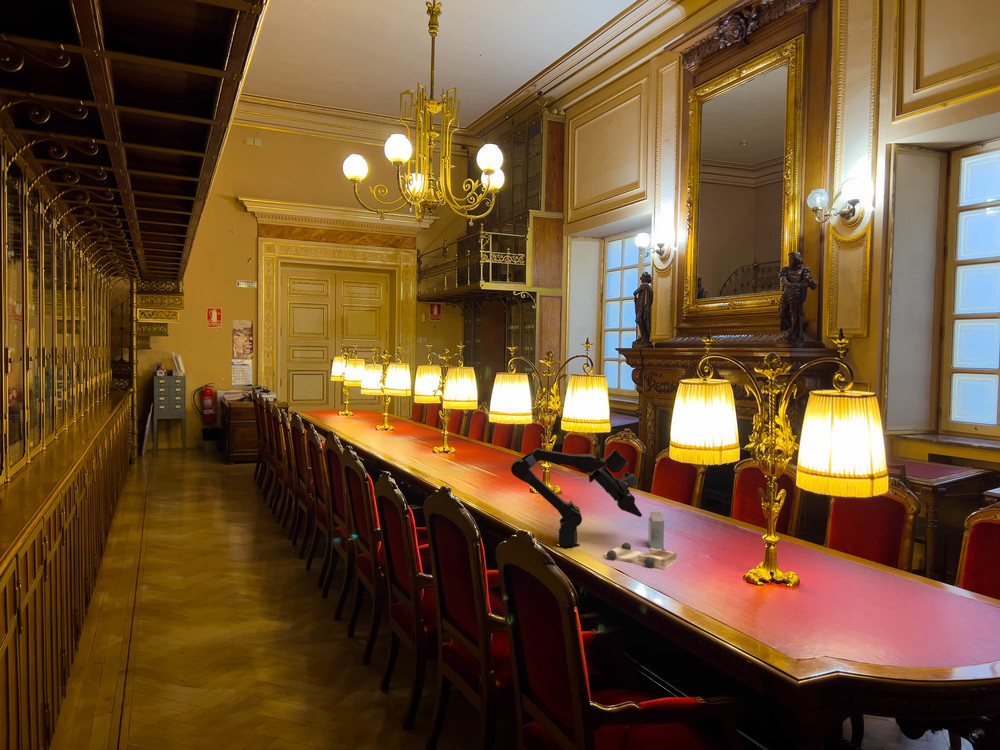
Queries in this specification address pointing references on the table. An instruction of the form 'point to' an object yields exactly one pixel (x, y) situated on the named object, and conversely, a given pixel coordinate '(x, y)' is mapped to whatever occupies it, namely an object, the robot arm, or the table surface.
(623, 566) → the table surface
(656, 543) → the grey rectangular block
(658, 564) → the chassis
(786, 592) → the table surface
